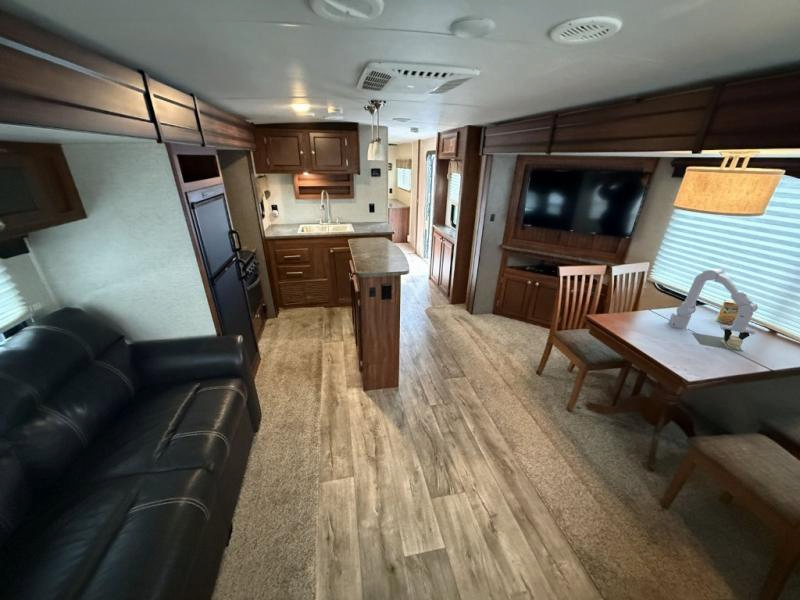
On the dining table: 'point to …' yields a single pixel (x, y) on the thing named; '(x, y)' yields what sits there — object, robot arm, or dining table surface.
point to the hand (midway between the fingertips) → (731, 341)
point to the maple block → (733, 340)
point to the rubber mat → (714, 341)
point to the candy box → (728, 312)
